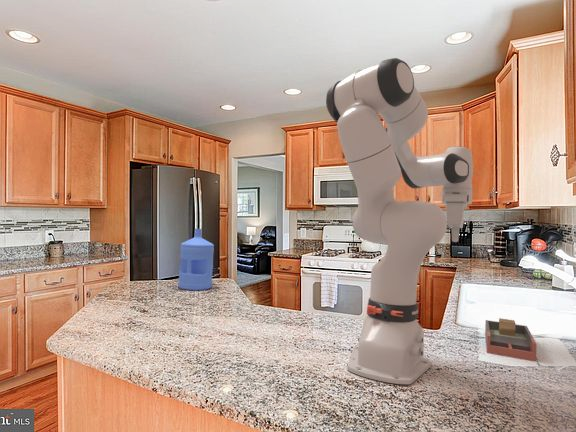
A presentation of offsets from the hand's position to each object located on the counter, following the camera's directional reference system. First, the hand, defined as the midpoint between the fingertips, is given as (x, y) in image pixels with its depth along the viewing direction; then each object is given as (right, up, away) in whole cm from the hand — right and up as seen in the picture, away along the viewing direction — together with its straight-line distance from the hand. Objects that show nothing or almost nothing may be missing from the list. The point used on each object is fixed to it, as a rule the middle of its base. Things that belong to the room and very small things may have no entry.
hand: (455, 241), depth 115 cm
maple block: (+13, -28, -5) cm, 31 cm away
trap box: (+10, -29, -11) cm, 33 cm away
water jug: (-98, -26, +57) cm, 116 cm away
